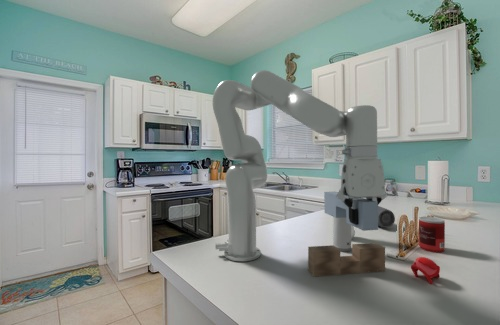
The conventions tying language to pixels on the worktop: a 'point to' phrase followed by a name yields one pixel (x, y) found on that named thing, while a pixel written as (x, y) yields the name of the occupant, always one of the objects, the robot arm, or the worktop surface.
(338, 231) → the travel mug
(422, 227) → the canned food
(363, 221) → the crosspiece
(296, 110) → the robot arm
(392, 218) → the bluetooth speaker
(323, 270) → the beam
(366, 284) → the worktop surface
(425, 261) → the cap
